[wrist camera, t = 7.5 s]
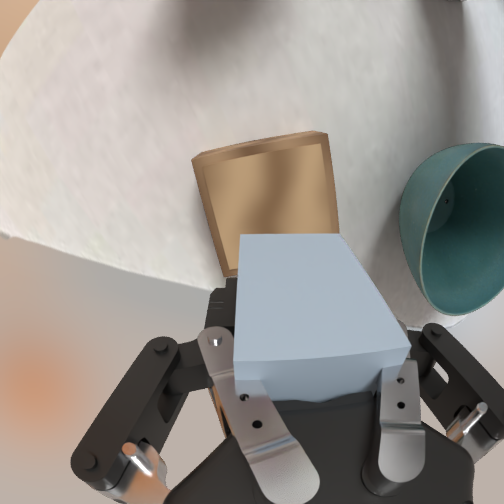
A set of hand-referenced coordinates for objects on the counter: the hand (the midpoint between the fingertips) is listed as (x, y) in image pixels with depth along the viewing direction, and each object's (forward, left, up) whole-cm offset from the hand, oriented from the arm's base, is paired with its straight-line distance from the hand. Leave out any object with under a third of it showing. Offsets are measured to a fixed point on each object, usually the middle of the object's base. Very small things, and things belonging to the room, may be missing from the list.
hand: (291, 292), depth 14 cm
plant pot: (-21, 0, -19) cm, 28 cm away
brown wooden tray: (0, 0, -19) cm, 19 cm away
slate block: (0, 0, -1) cm, 1 cm away
